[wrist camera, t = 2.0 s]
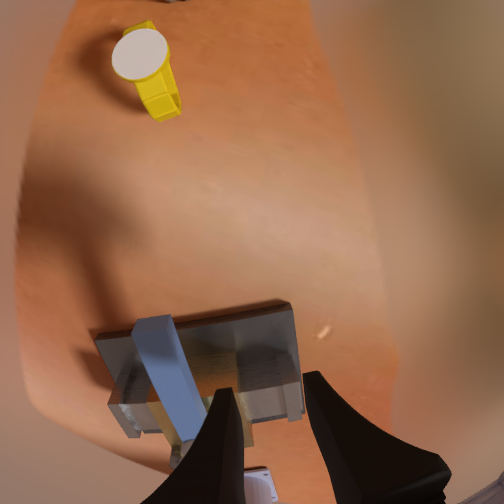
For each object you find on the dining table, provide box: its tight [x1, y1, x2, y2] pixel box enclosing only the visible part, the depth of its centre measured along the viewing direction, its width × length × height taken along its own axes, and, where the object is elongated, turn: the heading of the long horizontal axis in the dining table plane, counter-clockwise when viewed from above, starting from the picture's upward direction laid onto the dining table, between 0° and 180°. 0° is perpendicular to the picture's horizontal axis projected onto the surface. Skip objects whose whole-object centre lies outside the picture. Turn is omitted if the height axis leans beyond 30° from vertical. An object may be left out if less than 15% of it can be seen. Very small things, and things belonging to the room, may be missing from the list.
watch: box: [111, 20, 182, 122], centre depth 14 cm, size 6×3×6 cm, turn 17°
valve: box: [95, 303, 305, 469], centre depth 21 cm, size 11×15×7 cm
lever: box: [131, 314, 207, 456], centre depth 16 cm, size 11×3×2 cm, turn 10°
